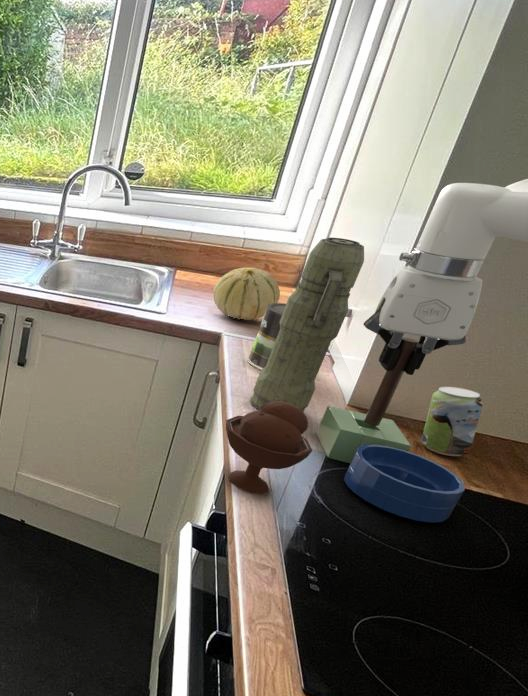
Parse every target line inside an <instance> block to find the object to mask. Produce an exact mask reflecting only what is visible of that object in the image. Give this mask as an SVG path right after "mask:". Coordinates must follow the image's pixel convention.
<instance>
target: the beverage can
mask: <svg viewBox="0 0 528 696" xmlns="http://www.w3.org/2000/svg"><path fill="white" fill-rule="evenodd" d="M483 406H484V402H483V400H482V399H481V395H480V393H479V392H477V391H474V390H471V389H467V388H463V387H456V386H440V387H439V388H438V390H436V391H435V392H433V394H432V396H431V399H430V404H429V407H428V412H427V416H426V420H425V423H424V427H423V432H422V436H421V439H420V443H421V444H422V445H423V446H425V447H426V448H427V450H429V451H431V452H434V453H436V454H440V455H443V456H448V457H449V456H450V457H462V456H466V455H468V454H470V453H471V451H472V446H473V442H474V439H475V436H476V431H477V428H478V424H479V421H480V417H481V412H482V411H483V410H482V409H483Z"/></svg>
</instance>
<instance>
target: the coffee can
mask: <svg viewBox="0 0 528 696" xmlns="http://www.w3.org/2000/svg"><path fill="white" fill-rule="evenodd" d="M286 304H287V303H281V302H278V303H272V304H268V305H267V307H266V312H265V315H264V316H263V317H262V319H261V320H262V321H261V323H260V326H259V329H258V331H257V335H256V337H255V339H254V342H253V345H252V348H251V350H250V353H249V356H248V358H249V360H250V362H251V363H253V364H254V365H256V366H258V367H259V368H258V367H256V366H254V365H253V364H251V363H250V362H249V361H248V360H247V362H248V364H249V365H251V367H253V368H255V369H256V370H259V371H261V370H262V369H263V368H264V367H265V366H266V364H267V362H268V359H269V357H270V354H271V351H272V349H273V346H274V344H275V341H276V338H277V336H278V333H279V330H280V323H279V322H280V319H281V317H282V314H283V311H284V309H285V306H286ZM260 368H261V369H260Z"/></svg>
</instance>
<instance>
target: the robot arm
mask: <svg viewBox="0 0 528 696" xmlns="http://www.w3.org/2000/svg"><path fill="white" fill-rule="evenodd" d="M496 237H501V238H506V239H511V240H515V241H521V242H525V243H528V178H525V179H522V180H520V181H517V182H513V183H511V184H508V185H507V186H505V187H504V186H499V185H493V184H485V183H474V182H454V183H453V182H452V183H450V184H447V185H446V186H444V187H443V188H442V189H441V191H440V192H439V194H438V196H437V198H436V201H435V203H434V205H433V207H432V210H431V212H430V214H429V217H428V219H427V221H426V224H425V226H424V228H423V230H422V233H421V235H420V237H419V240H418V242H417V244H416V246H415V248H413V250H411V251H409V252H404V251H403V252H401V253H400V255H399V261H401V262H405V263H407V266H405V265H403V266H402V267H400V269H399V270H398V272H397V273H396V274H395V276H394V277H393V279H391V282H389V285H388V286H387V287H386V290H385V291H384V293H383V295H382V297H381V299H380V300H379V302H378V304H377V306H376V308H375V311H374V313H373V314H371V316H370V317H369V318H367V319H366V320H365V321H364V322H363V327H364V328H366V329H367V330H369V331H371V332H373V333H375V334H376V335H379V337H380V338H381V339H382V341H384V343H385V344H384V346H383V348H382V351H381V353H380V355H379V358H378V362H379V363H380V366H381V367H382V368H383V369H384V371H391V370H392V369H393V367H394V365H395V363H396V361H397V359H398V356H399V354H400V352H401V350H400V349H399V346H400V345H399V344H400V342H401V340H402V338H404V335H405V334H407V335H412V336H413V335H414V336H418V339H417V340H416V341H418V343H417V345H416V347H415V349H414V352H413V354H412V356H411V358H410V360H409V362H408V364H407V367H406V369H405V371H404V373H405V374H407V375H408V376H413V375H414V374H415V372H416V370H420V368H421V367H422V364H423V362H424V360H425V358H426V355H429V354H431V353H432V352H434V351H436V350H438V349H441V348H444V347H446V346H457V345H463V344H464V345H465V344H466V342H467V337H466V335H467V333H468V331H469V329H470V327H471V324H472V321H473V318H474V316H475V313H476V311H477V307H478V304H479V301H480V296H481V293H482V289H483V279H482V278H480V277H477V276H478V274H479V272H480V270H481V268H482V266H483V263H484V261H485V259H486V257H487V256H488V253H489V251H490V250H491V247H492V245H493V243H494V241H495V239H496Z"/></svg>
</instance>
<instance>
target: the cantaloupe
mask: <svg viewBox="0 0 528 696" xmlns="http://www.w3.org/2000/svg"><path fill="white" fill-rule="evenodd" d="M212 293H213V301H214V304H215V305H216V307H217V310H219V311H220V312H221V313H222V314H223V315H225V314H226V315H225V316H227V315H229V316H231V317H234V318H233V319H235V318H239V319H238V320H240V319H244V320H243V321H253V320H258V319H260V318H264V315H265V312H266V307H267V305H268V304H272V303H279V300H280V296H281V291H280V287H279V284H278V282H277V280H276V279H275V277H274V276H273V275H272V274H270V273H269V272H268V271H265V270H263V269H259V268H256V267H240V268H235V269H233V270H230V271H228V272H227V273H225V274H224V275H222V276H221V277H220V278H219V279H218V280H217V282H216V283H215V284H214V288H213V291H212ZM229 316H228V317H229ZM231 317H230V318H231ZM252 319H253V320H252Z"/></svg>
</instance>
